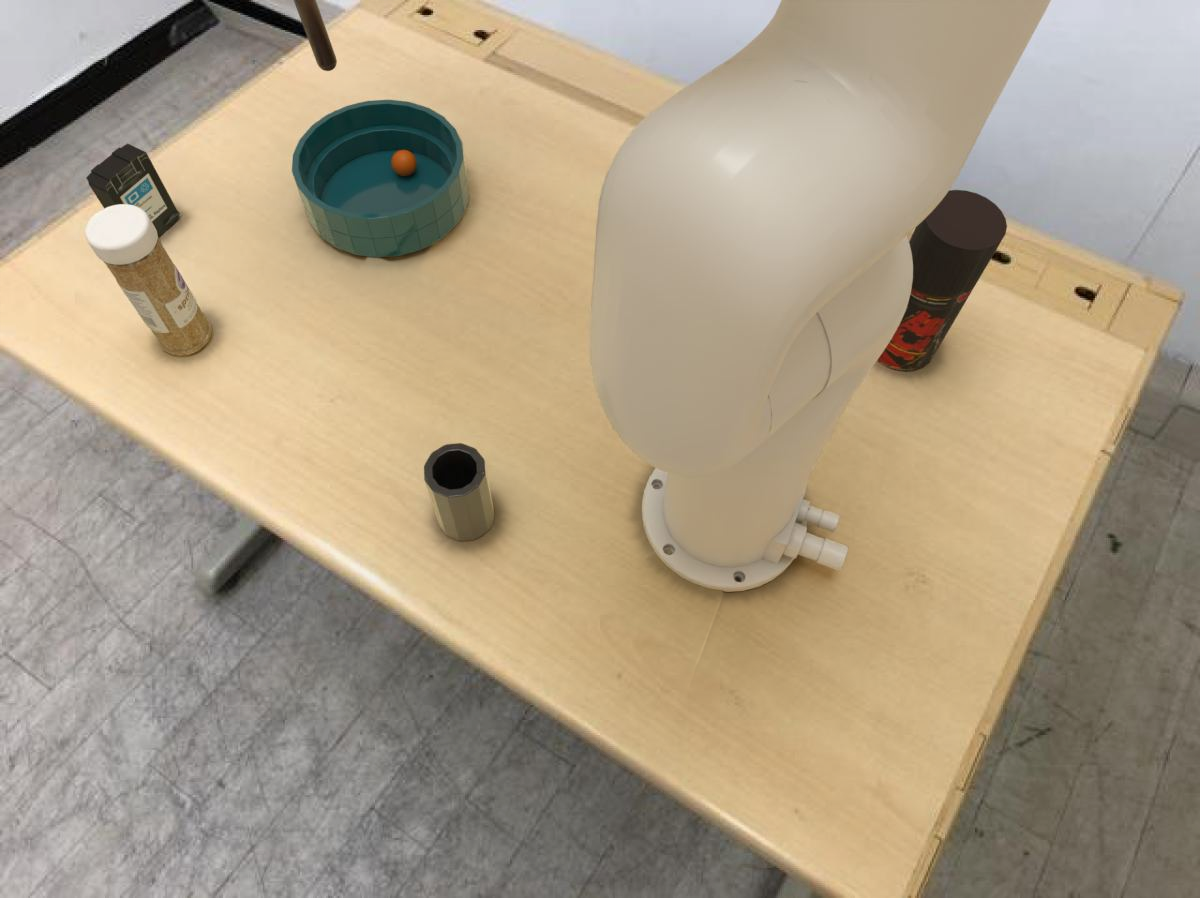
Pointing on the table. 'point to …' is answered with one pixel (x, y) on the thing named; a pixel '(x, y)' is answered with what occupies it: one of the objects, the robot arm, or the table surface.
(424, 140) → the bowl
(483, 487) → the holder
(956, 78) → the robot arm
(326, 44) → the stick
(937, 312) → the deodorant
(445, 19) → the table surface
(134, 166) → the ink cartridge
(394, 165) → the ball
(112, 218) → the sprinkles bottle
